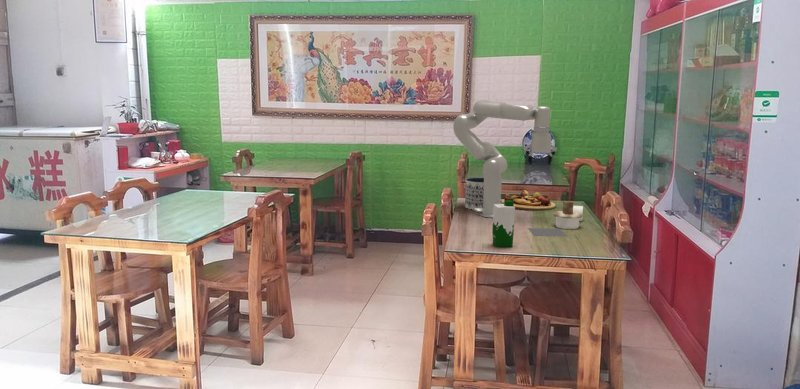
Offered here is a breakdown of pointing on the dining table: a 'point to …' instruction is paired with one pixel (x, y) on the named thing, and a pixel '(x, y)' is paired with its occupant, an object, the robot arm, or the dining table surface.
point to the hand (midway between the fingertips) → (539, 163)
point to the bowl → (567, 223)
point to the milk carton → (503, 224)
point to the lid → (567, 211)
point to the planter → (474, 193)
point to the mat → (547, 232)
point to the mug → (578, 210)
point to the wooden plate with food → (530, 201)
